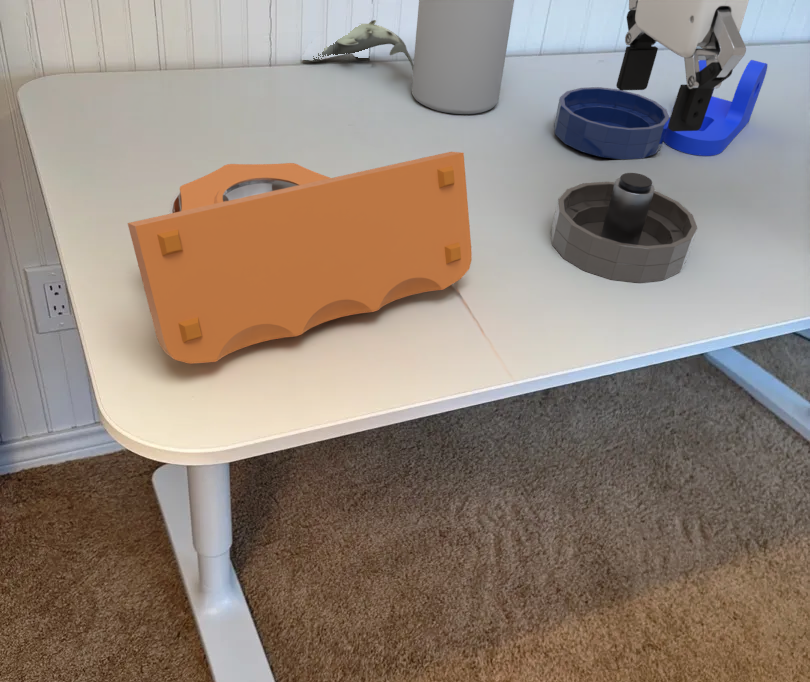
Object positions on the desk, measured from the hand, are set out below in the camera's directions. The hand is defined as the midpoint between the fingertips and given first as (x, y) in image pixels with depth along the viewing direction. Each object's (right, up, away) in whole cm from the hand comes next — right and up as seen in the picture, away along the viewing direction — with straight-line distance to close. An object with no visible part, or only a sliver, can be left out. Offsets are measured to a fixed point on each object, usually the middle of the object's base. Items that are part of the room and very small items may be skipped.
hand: (656, 108), depth 78 cm
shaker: (-1, -11, +10) cm, 15 cm away
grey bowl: (-1, -12, +10) cm, 16 cm away
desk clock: (-30, -16, -10) cm, 35 cm away
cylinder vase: (-17, +16, +40) cm, 46 cm away
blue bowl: (+3, +8, +33) cm, 34 cm away
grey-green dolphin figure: (-32, +27, +42) cm, 59 cm away
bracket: (+18, +10, +38) cm, 43 cm away
